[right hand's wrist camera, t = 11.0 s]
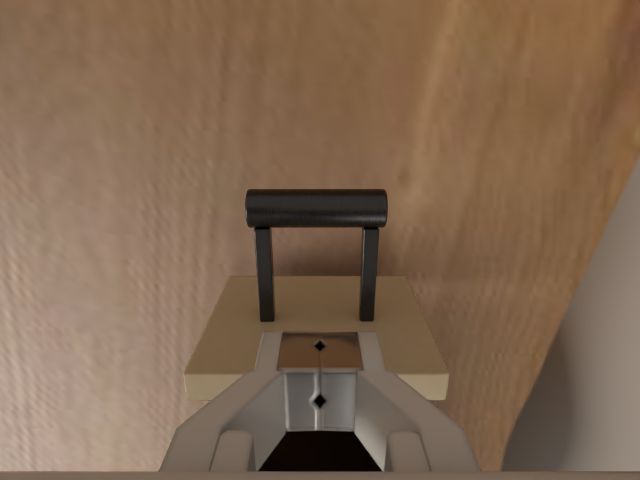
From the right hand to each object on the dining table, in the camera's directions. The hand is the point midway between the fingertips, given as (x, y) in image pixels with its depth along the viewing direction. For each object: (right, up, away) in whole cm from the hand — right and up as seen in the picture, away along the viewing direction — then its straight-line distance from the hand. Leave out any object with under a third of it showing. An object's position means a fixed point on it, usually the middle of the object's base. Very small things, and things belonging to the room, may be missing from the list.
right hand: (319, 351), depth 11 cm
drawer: (0, -3, +12) cm, 12 cm away
